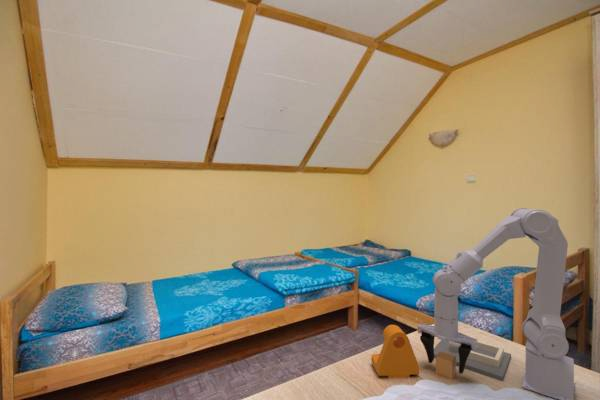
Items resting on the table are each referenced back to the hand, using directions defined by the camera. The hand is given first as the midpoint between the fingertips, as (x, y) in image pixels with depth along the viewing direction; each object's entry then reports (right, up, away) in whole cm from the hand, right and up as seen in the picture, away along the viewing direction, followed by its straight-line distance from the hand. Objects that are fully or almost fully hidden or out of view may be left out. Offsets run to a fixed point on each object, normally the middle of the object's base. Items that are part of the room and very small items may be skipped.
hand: (445, 366), depth 82 cm
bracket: (-14, -2, +1) cm, 14 cm away
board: (+11, -2, +8) cm, 13 cm away
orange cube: (0, -2, 0) cm, 2 cm away
